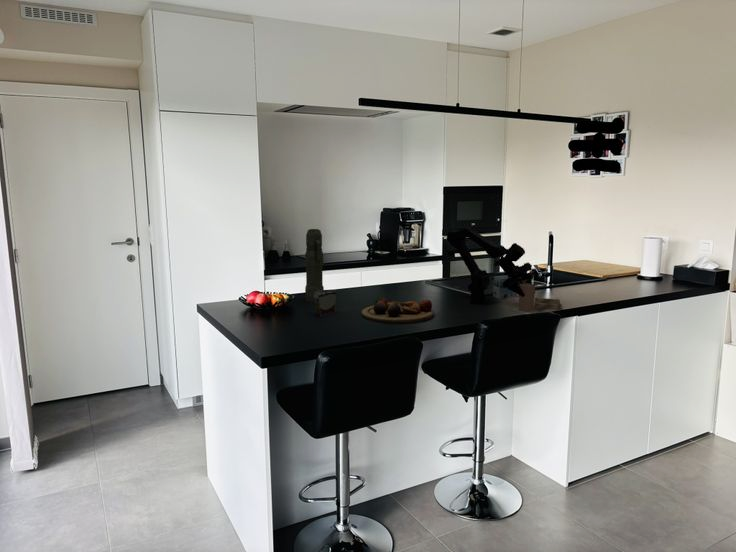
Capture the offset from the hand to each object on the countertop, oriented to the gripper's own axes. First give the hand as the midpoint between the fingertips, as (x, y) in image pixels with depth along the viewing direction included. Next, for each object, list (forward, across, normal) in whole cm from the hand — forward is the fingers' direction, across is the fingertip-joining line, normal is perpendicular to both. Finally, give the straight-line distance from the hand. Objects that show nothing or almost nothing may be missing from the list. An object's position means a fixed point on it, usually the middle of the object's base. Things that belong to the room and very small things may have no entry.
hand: (529, 295), depth 253 cm
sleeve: (+6, +16, +5) cm, 18 cm away
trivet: (+5, 0, +7) cm, 8 cm away
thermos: (-54, -56, +65) cm, 101 cm away
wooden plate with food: (-20, -47, +32) cm, 61 cm away
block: (+4, 0, +6) cm, 7 cm away
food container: (-38, -70, +50) cm, 93 cm away
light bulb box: (-12, +21, +24) cm, 34 cm away
